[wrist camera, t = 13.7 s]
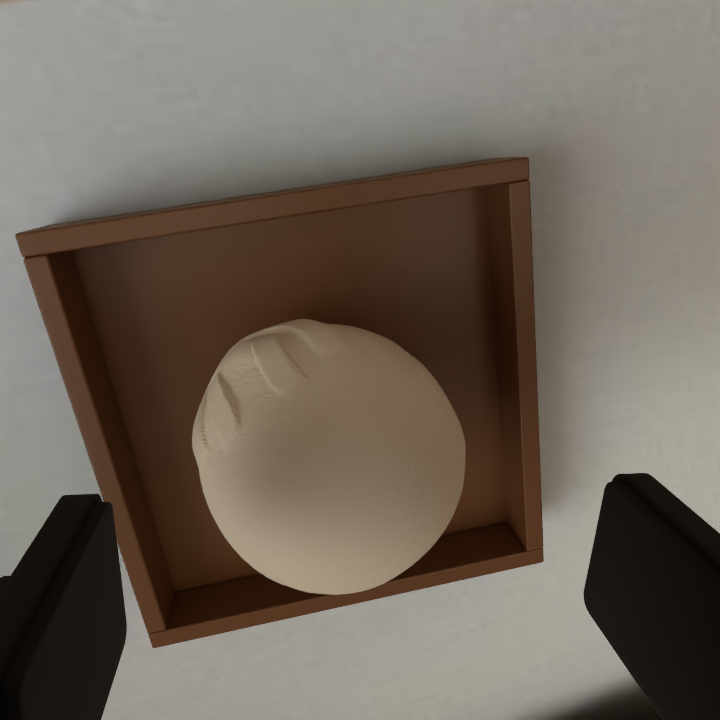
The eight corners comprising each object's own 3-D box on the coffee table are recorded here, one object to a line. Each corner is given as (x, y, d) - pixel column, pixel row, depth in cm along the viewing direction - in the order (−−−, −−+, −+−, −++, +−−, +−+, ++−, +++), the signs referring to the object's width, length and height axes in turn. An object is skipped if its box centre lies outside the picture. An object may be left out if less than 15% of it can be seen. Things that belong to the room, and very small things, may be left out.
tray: (47, 225, 16) (13, 233, 14) (497, 157, 17) (529, 156, 15) (164, 598, 21) (152, 649, 18) (517, 523, 22) (544, 562, 20)
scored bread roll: (324, 244, 17) (356, 288, 11) (464, 411, 19) (557, 528, 13) (155, 389, 18) (92, 511, 11) (311, 534, 20) (331, 700, 14)
